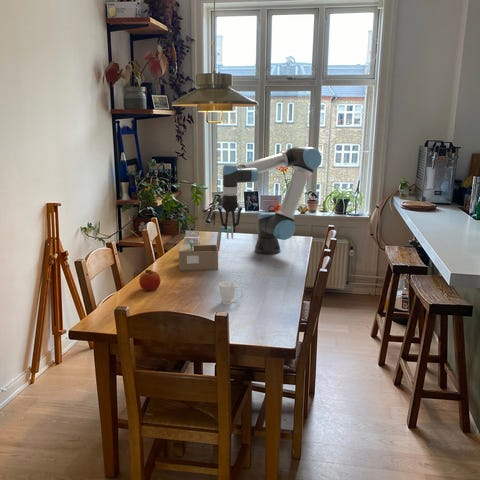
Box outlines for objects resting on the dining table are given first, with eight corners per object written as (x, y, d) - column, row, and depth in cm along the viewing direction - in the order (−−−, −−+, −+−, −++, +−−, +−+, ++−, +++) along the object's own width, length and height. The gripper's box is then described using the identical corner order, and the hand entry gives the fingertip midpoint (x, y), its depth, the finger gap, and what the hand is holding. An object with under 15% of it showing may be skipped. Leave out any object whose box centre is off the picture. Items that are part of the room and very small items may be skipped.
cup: (219, 299, 201) (219, 281, 199) (242, 299, 201) (242, 281, 199) (218, 305, 195) (218, 286, 193) (242, 305, 194) (242, 286, 192)
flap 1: (179, 252, 237) (178, 243, 236) (179, 245, 251) (178, 237, 249) (193, 252, 238) (193, 242, 237) (193, 245, 251) (193, 236, 250)
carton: (216, 262, 256) (216, 244, 253) (218, 269, 242) (218, 251, 240) (179, 263, 253) (179, 245, 251) (179, 271, 240) (178, 252, 237)
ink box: (183, 257, 265) (183, 232, 261) (185, 255, 269) (185, 230, 266) (198, 258, 264) (198, 232, 260) (200, 255, 269) (199, 230, 265)
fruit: (164, 286, 217) (163, 266, 214) (156, 293, 208) (155, 272, 205) (144, 285, 219) (143, 265, 216) (136, 292, 210) (135, 271, 207)
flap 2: (216, 244, 253) (228, 245, 254) (218, 250, 240) (231, 252, 241) (218, 225, 251) (231, 226, 252) (220, 231, 238) (233, 232, 239)
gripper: (243, 193, 248) (242, 236, 254) (215, 193, 246) (215, 237, 252) (245, 195, 241) (244, 239, 246) (216, 195, 239) (216, 240, 245)
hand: (229, 238), depth 249 cm, fingers closed on flap 2, 2 cm apart
